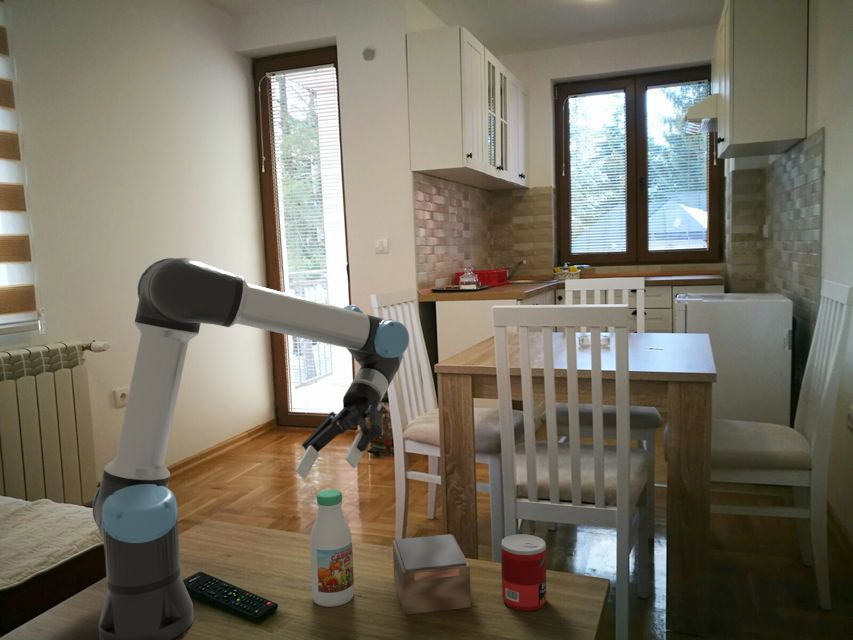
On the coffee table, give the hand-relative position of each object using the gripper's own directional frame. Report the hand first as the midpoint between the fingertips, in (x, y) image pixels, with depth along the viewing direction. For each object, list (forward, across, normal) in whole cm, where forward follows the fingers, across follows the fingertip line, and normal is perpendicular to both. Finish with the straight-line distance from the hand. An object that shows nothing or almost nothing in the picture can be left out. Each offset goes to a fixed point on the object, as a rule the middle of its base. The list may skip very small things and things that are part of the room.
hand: (324, 468), depth 129 cm
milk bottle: (+16, +2, -17) cm, 24 cm away
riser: (+10, -12, -26) cm, 30 cm away
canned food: (+8, -27, -34) cm, 44 cm away
